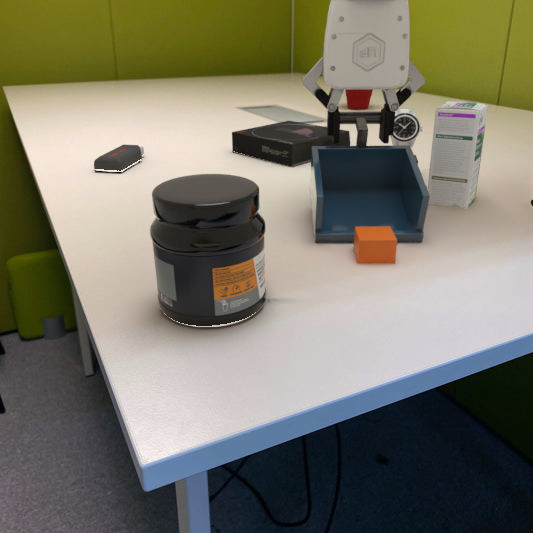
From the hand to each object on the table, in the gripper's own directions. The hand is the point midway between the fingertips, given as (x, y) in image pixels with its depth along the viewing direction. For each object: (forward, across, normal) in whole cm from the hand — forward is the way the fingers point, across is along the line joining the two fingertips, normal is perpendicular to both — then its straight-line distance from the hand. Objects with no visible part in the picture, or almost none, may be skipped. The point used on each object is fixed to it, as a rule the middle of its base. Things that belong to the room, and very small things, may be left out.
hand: (359, 140), depth 72 cm
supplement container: (+11, -17, -25) cm, 32 cm away
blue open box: (+8, 0, -4) cm, 9 cm away
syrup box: (+11, +14, +3) cm, 18 cm away
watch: (+11, +10, +20) cm, 25 cm away
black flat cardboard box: (+11, -8, +38) cm, 40 cm away
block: (+7, 0, -16) cm, 17 cm away
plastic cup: (+11, +13, +89) cm, 90 cm away
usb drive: (+11, -39, +29) cm, 50 cm away
